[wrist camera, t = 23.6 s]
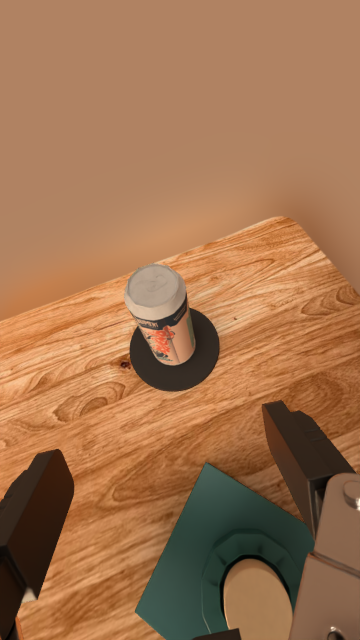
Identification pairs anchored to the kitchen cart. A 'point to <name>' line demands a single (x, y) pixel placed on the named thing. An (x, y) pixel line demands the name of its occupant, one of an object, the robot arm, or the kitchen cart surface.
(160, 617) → the push button base
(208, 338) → the coaster
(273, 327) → the kitchen cart surface
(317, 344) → the kitchen cart surface
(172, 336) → the beer can
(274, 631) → the button
